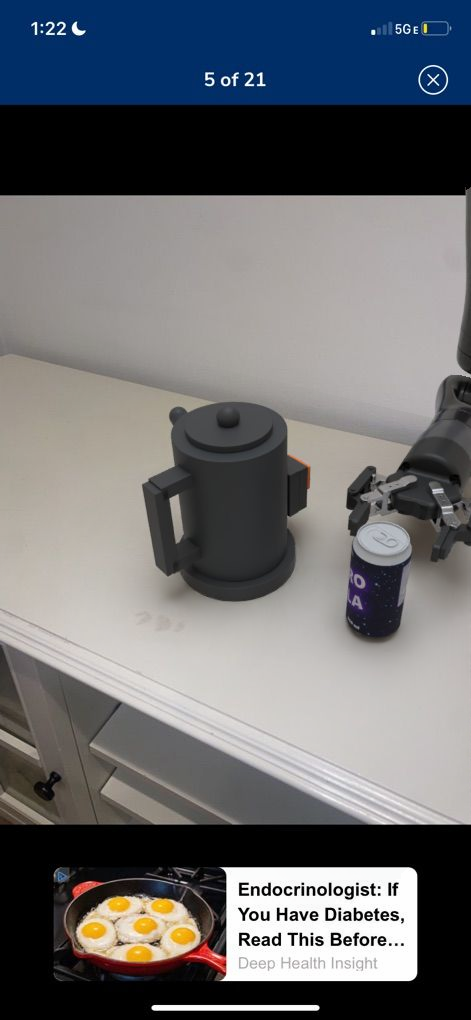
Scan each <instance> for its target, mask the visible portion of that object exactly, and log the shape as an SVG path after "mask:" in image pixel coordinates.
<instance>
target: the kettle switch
mask: <svg viewBox="0 0 471 1020" xmlns="http://www.w3.org/2000/svg"><path fill="white" fill-rule="evenodd" d="M288 455H289V456H290V457H292V458H294V459H296V460H297V461H299V462H301V463H302V464H304V465H306V466H308V482H307V490H309V489H310V488H311V465H309V464H307V463H306V462H304V461H302V460H300V459H299V458H297V457H295V456H293V455H292V454H288Z"/></svg>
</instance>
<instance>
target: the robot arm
mask: <svg viewBox="0 0 471 1020" xmlns="http://www.w3.org/2000/svg"><path fill="white" fill-rule="evenodd" d="M464 232H465V234H464V236H465V290H464V291H465V292H464V303H463V310H462V317H461V323H460V329H459V335H458V341H457V347H456V357H455V358H456V362H457V365H458V367H459V368H460V369H461V370H462V371H464V372H465V373H466V374H470V375H471V187H470V188H469V189H467V190H466V189H465V229H464ZM434 401H435V402H434V417H433V419H432V420H431V421H430V423H429V425H428V426H427V428H426V429H425V430H424V431H423V432H422V433H421V434H420V435H419V436H418V437H417V439H416V441H415V442H414V443H413V445H412V446H411V448H410V449H409V451H408V452H407V454H406V455H405V457H404V458H403V460H402V461H401V463H400V465H398V468H397V469H396V471H395V472H394V473H391V474H389V475H388V476H387V475H383V474H380V473H377V467H376V466H374V465H367V466H366V467H365V468H364V469H363V470H362V471H361V472H360V474H359V475H358V476H357V477H356V478H355V479H354V480H353V481H352V483H351V484H350V485H349V486H348V487H347V489H346V501H345V508H346V509H347V510H348V511H351V512H350V514H349V515H348V519H347V530H348V531H349V535H350V536H352V537H354V538H355V537H356V535H357V532H358V530H359V529H360V528H361V527H362V526H363V525H365V524H367V523H368V522H369V520H370V518H371V517H374V516H377V515H380V516H382V517H385V516H388V515H392V514H394V513H397V514H399V515H403V516H409V517H413V518H415V519H417V520H420V521H423V522H426V521H427V520H429V522H430V524H431V525H432V528H433V529H434V530H435V532H436V533H438V536H436V539H435V541H434V543H433V546H432V548H431V552H430V558H429V561H430V562H431V563H435V564H438V562H439V561H440V560H442V561H445V560H447V559H448V558H449V555H450V553H451V551H452V549H453V547H454V545H455V544H456V543H458V542H459V543H461V542H462V543H463V544H464V545H465V546H467V547H471V498H468V497H464V496H463V491H464V489H465V487H466V485H467V483H468V482H469V479H471V378H470V377H466V376H462V375H452V374H450V375H448V376H445V378H444V379H443V380H442V381H441V382H440V384H439V386H438V388H437V391H436V396H435V400H434ZM372 503H374V504H372ZM459 509H460V510H462V511H463V515H464V516H466V518H465V519H466V520H467V523H461V521H460V520H459V519H458V517H457V515H456V514H455V512H457V511H459Z"/></svg>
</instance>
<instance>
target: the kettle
mask: <svg viewBox="0 0 471 1020" xmlns="http://www.w3.org/2000/svg"><path fill="white" fill-rule="evenodd" d="M168 419H169V422H170V423H171V425H172V427H171V431H170V441H171V448H172V456H173V457H172V458H173V465H174V466H172V467H170V468H168V469H165V470H164V471H161V472H159V473H156V474H155V475H152V476H150V477H148V479H147V480H148V481H146V482H143V483H142V484H141V487H142V489H141V490H142V494H143V500H144V506H145V511H146V517H147V524H148V528H149V534H150V535H149V536H150V540H151V545H152V552H153V558H154V563H155V566H156V567H157V568H158V569H159V570H160V571H161V572H162V573H163V574H164V575H165V576H166V577H170V576H172V575H175V574H177V573H179V572H180V574H181V577H182V578H183V579H184V581H185V582H186V584H187V585H188V586H189V587H190V588H192V589H193V590H194V591H196V592H197V593H199V594H201V595H203V596H206V597H208V598H211V599H214V600H220V601H226V602H242V601H243V602H244V601H249V600H250V601H251V600H255V599H258V598H262V597H264V596H267V595H269V594H271V593H273V592H274V591H277V590H278V589H279V588H280V587H282V586H283V585H284V584H285V583H286V582H287V581H288V580H289V578H291V576H292V574H293V572H294V569H295V566H296V557H297V556H296V555H297V554H296V553H297V550H296V548H297V547H296V541H295V540H296V539H295V537H294V535H293V533H292V532H291V530H290V529H289V528H288V518H291V517H293V516H295V515H297V514H298V513H300V512H301V511H302V510H304V509H307V507H308V489H307V482H308V466H306V465H304V464H302V463H301V462H299V461H297V460H296V459H294V458H292V457H290V456H289V455H290V454H288V436H289V435H288V433H289V432H288V425H287V422H286V420H285V418H284V417H283V416H282V415H281V414H279V412H277V411H275V410H274V409H272V408H269V407H267V406H264V405H262V404H257V403H252V402H247V401H223V402H221V401H220V402H216V403H209V404H206V405H202V406H199V407H197V408H194V409H192V410H190V411H188V410H186V408H184V407H183V406H175V407H173V408H171V409H170V411H169V413H168ZM176 496H178V502H179V511H180V518H181V524H182V533H183V534H182V536H181V538H180V540H179V542H177V541H176V535H175V527H174V520H173V514H172V507H171V500H170V499H172V498H173V497H176Z"/></svg>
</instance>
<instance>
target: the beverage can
mask: <svg viewBox="0 0 471 1020" xmlns="http://www.w3.org/2000/svg"><path fill="white" fill-rule="evenodd" d="M413 552H414V551H413V546H412V544H411V538H410V535H409V533H408V531H407V530H406V529H405V528H404V527H403V526H400V525H398V524H397V523H395V522H391V521H387V520H375V521H370V522H369V521H368V522H367V523H366V524H365V525H363V526H362V527H361V528H360V529H359V530H358V532H357V535H356V537H354V538H353V539H352V541H351V550H350V561H349V572H348V583H347V584H348V585H347V595H346V596H347V598H346V608H345V620H346V622H347V624H348V625H349V627H350V628H351V629H352V630H353V631H355V632H356V633H358V634H359V635H361V636H364V637H366V638H370V639H378V638H379V639H380V638H386V637H389V636H391V635H393V634H394V633H396V632H397V631H398V629H399V628H400V626H401V622H402V616H403V610H404V604H405V598H406V594H407V593H406V592H407V587H408V581H409V576H410V569H411V563H412V558H413Z"/></svg>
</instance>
